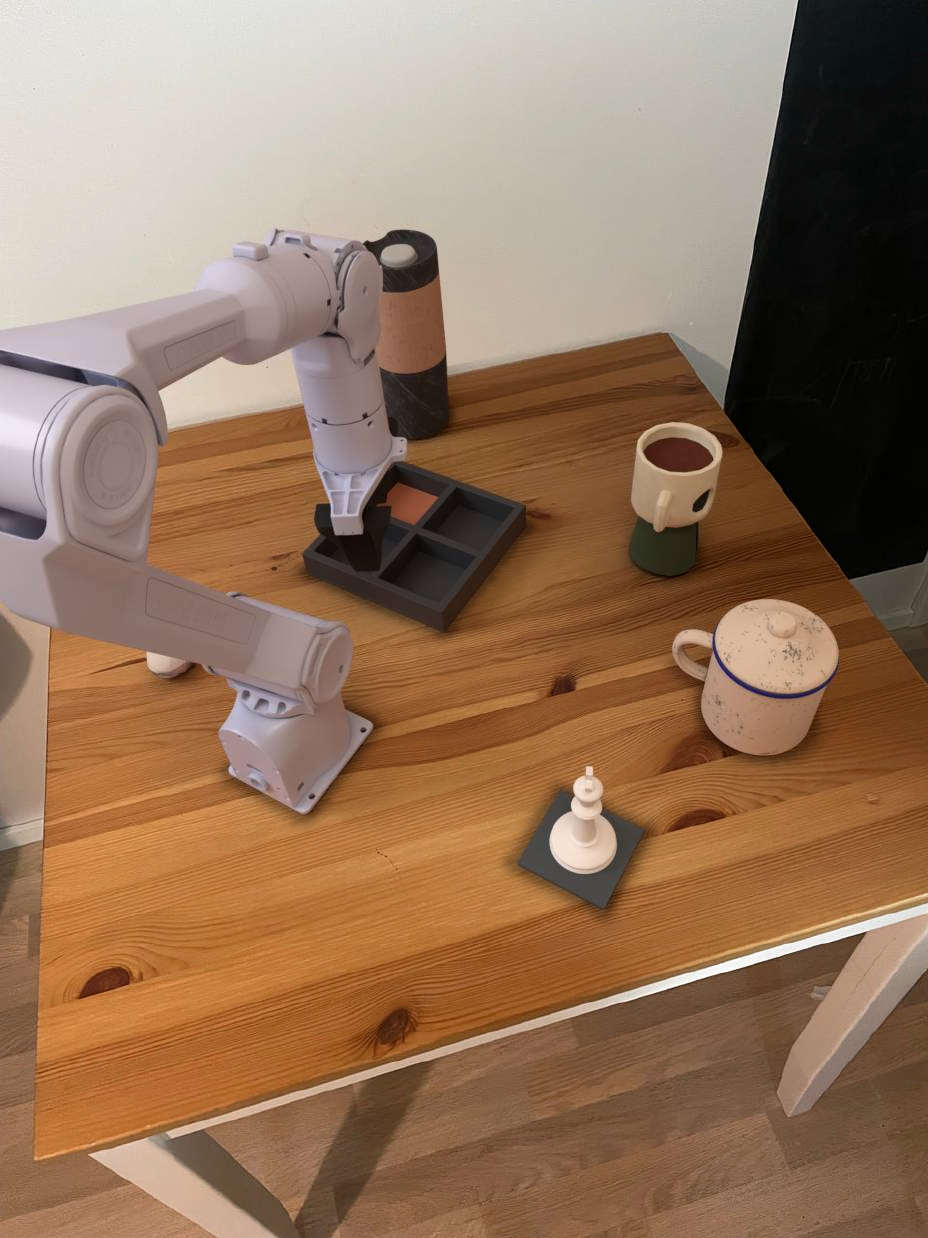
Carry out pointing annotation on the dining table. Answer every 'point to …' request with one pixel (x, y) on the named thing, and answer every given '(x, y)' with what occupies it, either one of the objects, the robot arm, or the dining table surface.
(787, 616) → the teacup with lid
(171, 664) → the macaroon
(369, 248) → the travel mug
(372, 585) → the tray
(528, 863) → the coaster
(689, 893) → the dining table surface
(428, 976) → the dining table surface
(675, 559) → the character mug
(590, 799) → the chess piece
